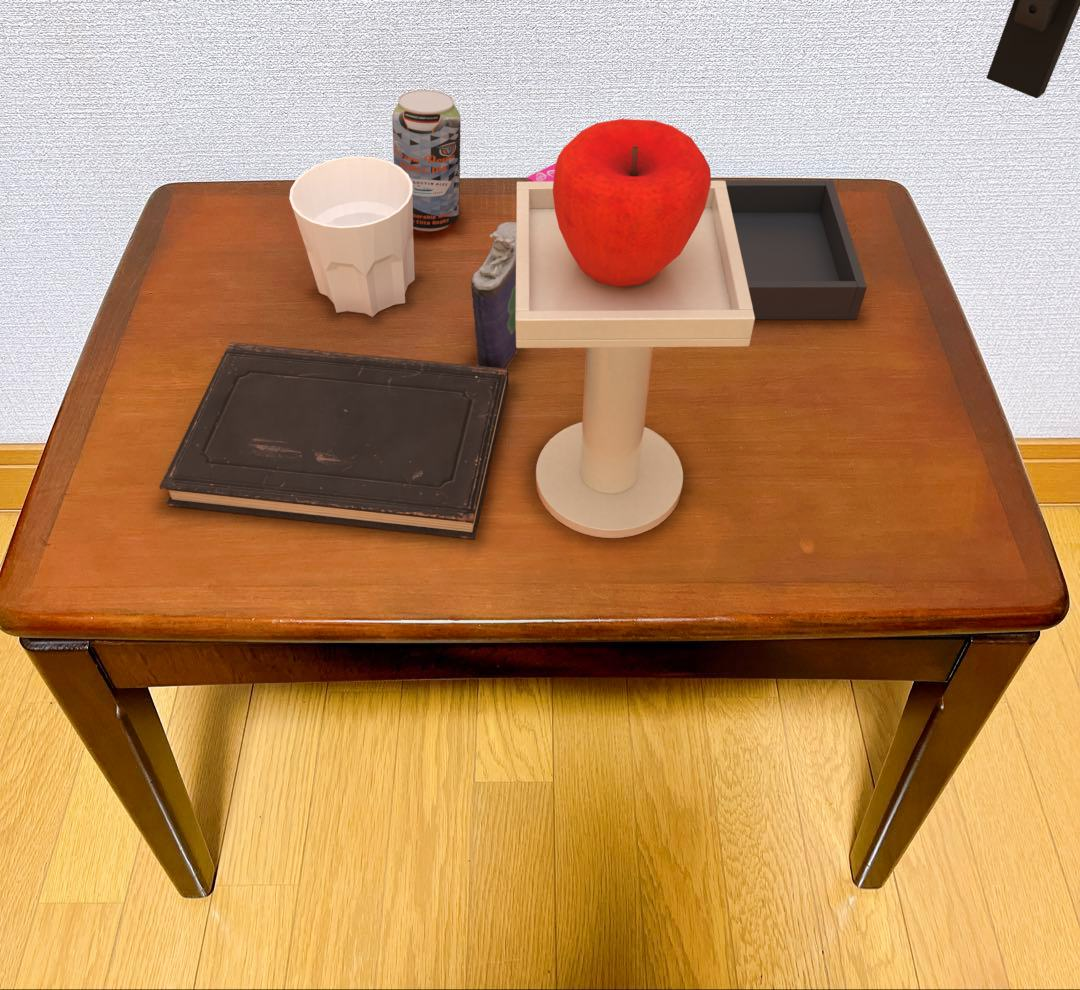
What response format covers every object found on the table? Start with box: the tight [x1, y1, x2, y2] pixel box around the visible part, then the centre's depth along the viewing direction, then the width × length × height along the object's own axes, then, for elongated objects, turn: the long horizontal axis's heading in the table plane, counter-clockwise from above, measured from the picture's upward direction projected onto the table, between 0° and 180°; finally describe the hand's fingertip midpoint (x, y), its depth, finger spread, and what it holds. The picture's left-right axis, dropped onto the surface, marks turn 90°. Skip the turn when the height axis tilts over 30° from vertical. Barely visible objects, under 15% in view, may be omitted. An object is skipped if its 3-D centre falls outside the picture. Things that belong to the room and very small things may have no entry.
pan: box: [724, 179, 868, 321], centre depth 91 cm, size 16×16×4 cm
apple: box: [553, 118, 712, 287], centre depth 58 cm, size 9×9×8 cm
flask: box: [470, 221, 520, 369], centre depth 82 cm, size 9×3×11 cm, turn 165°
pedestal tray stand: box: [515, 180, 755, 539], centre depth 68 cm, size 13×13×22 cm
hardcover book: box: [158, 341, 509, 540], centre depth 78 cm, size 16×23×2 cm
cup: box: [289, 155, 416, 318], centre depth 87 cm, size 10×10×10 cm
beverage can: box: [391, 89, 461, 232], centre depth 93 cm, size 6×7×12 cm
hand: (1079, 38), depth 53 cm, fingers open, 13 cm apart
